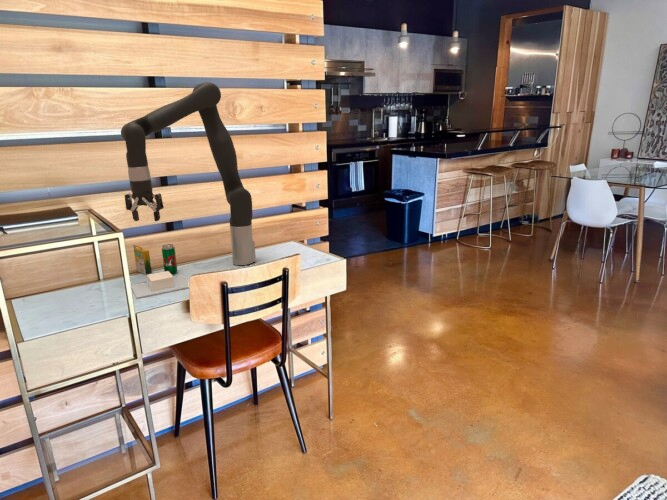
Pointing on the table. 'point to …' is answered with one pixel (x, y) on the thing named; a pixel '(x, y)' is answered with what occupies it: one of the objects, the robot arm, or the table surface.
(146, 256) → the crayon box
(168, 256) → the soda can
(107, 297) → the table surface
